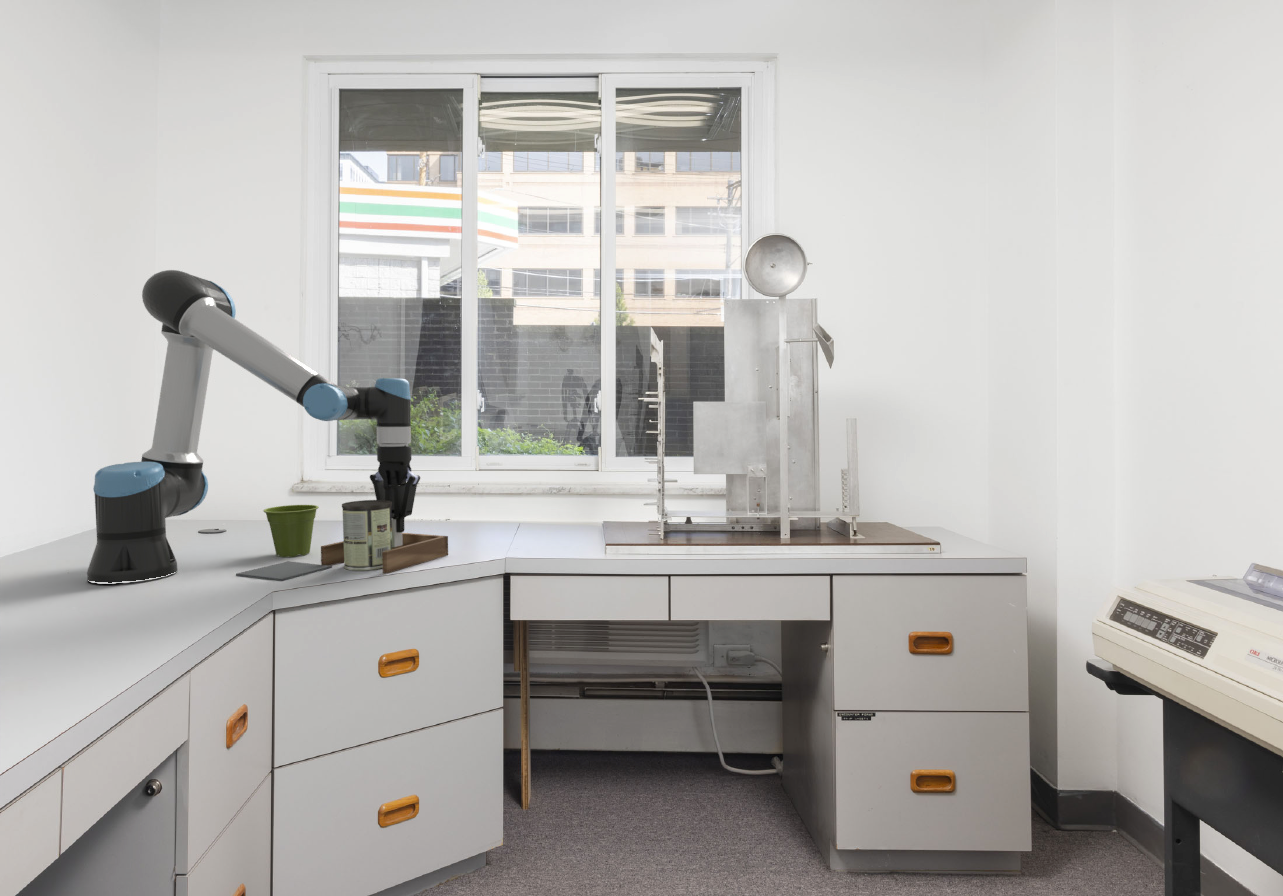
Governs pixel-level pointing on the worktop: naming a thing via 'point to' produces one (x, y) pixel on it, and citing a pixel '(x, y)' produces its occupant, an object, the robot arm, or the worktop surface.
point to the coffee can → (366, 533)
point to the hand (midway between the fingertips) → (396, 545)
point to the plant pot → (291, 528)
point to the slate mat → (284, 570)
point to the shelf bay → (396, 551)
